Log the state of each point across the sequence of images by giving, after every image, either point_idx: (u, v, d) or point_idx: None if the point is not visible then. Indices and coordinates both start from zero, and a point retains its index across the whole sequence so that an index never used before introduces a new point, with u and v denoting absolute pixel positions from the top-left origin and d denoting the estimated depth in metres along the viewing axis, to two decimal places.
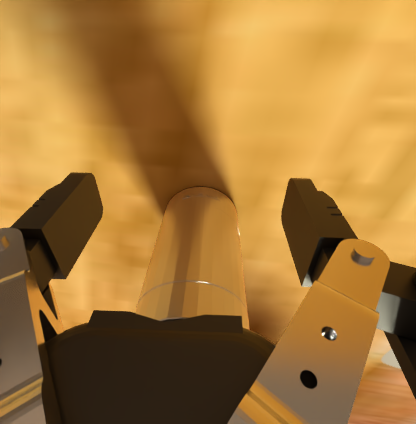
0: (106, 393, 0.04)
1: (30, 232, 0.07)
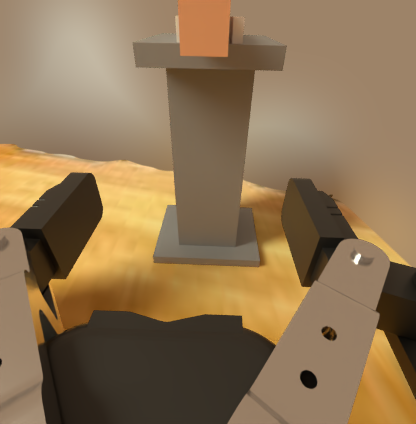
0: (106, 393, 0.04)
1: (30, 232, 0.07)
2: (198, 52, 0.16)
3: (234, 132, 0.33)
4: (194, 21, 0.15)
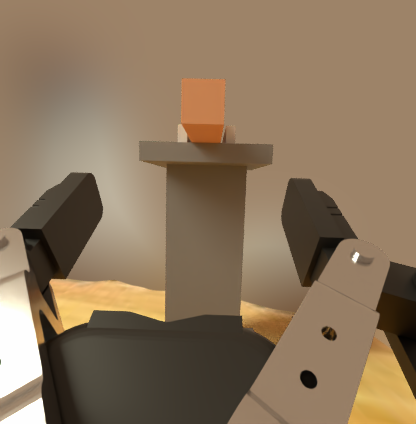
0: (106, 393, 0.04)
1: (30, 232, 0.07)
2: (197, 120, 0.18)
3: (230, 228, 0.33)
4: (195, 97, 0.18)
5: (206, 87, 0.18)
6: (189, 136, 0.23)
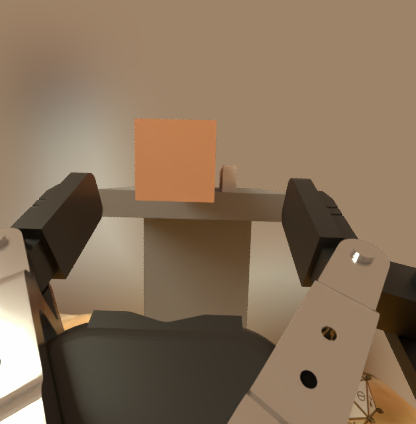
0: (106, 393, 0.04)
1: (30, 232, 0.07)
2: (165, 195, 0.10)
3: (229, 294, 0.25)
4: (160, 154, 0.10)
5: (181, 135, 0.10)
6: None
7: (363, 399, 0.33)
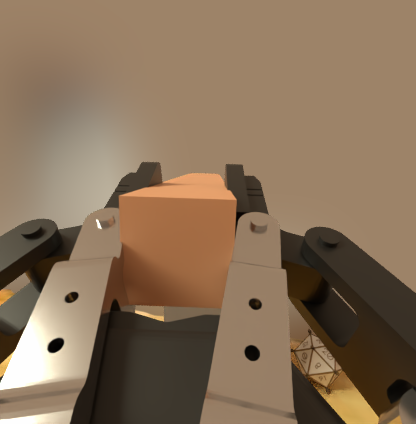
0: (106, 393, 0.04)
1: None
2: (163, 299, 0.07)
3: None
4: (155, 244, 0.07)
5: (185, 219, 0.07)
6: None
7: (332, 358, 0.42)
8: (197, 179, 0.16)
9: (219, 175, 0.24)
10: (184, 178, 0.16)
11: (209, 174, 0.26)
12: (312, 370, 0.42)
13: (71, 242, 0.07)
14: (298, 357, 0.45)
